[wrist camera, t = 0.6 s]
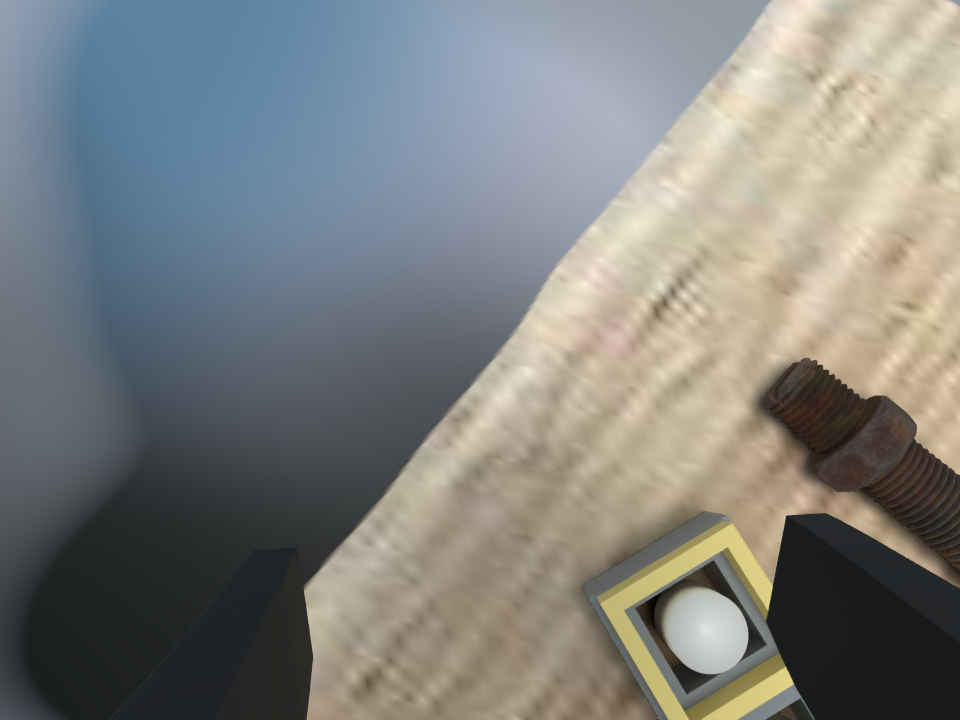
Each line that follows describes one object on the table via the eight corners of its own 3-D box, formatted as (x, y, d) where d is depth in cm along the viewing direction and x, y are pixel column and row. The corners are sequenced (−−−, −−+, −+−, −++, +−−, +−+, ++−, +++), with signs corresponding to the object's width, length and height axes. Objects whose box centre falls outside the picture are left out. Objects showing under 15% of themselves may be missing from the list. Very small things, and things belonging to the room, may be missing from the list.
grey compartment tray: (704, 511, 34) (737, 517, 29) (865, 764, 31) (930, 818, 26) (581, 586, 33) (592, 605, 28) (734, 847, 31) (775, 917, 26)
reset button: (740, 631, 31) (763, 648, 28) (679, 669, 31) (696, 689, 28) (700, 567, 31) (719, 576, 29) (640, 604, 31) (653, 617, 28)
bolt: (766, 379, 36) (1014, 585, 34) (725, 437, 34) (993, 666, 31) (843, 316, 32) (1139, 548, 29) (803, 376, 29) (1127, 640, 26)
